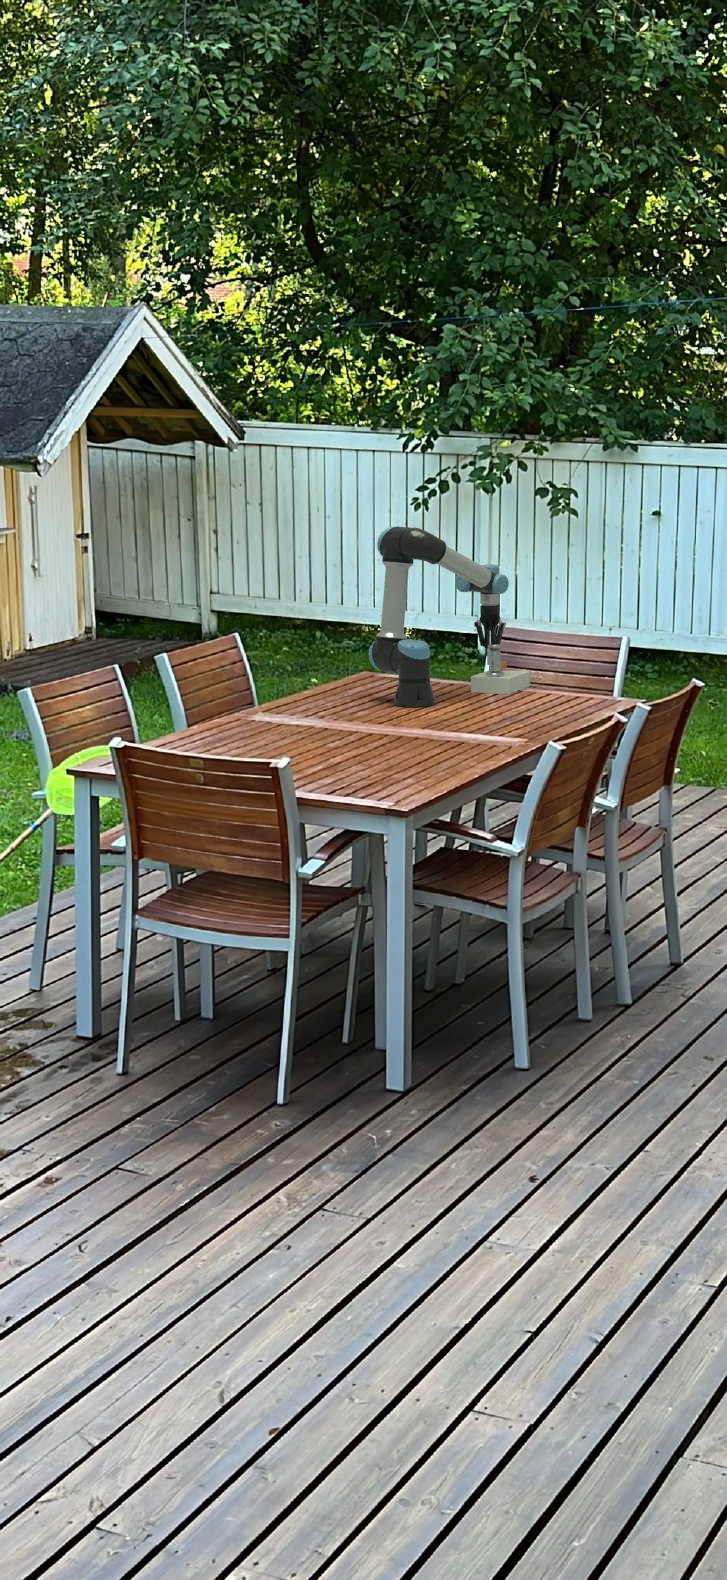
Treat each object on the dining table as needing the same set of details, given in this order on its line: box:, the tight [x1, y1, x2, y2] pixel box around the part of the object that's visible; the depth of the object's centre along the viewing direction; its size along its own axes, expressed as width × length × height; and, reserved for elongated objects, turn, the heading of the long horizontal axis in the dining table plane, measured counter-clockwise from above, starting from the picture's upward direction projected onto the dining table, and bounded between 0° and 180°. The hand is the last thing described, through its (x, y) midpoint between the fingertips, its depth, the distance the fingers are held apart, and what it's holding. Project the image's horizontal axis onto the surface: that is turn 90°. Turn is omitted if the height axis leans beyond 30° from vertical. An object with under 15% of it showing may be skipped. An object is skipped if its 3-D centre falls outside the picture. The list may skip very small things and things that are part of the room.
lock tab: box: [500, 659, 508, 670], centre depth 700 cm, size 11×4×3 cm, turn 152°
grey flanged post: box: [485, 643, 504, 677], centre depth 687 cm, size 7×7×15 cm
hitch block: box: [470, 669, 531, 695], centre depth 693 cm, size 16×20×6 cm
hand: (490, 664), depth 705 cm, fingers closed
